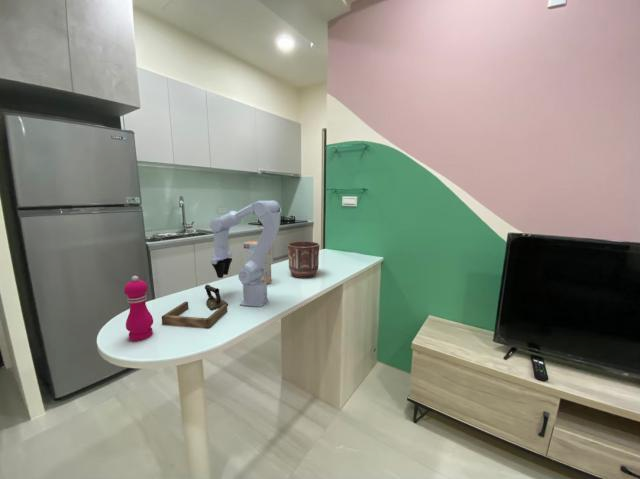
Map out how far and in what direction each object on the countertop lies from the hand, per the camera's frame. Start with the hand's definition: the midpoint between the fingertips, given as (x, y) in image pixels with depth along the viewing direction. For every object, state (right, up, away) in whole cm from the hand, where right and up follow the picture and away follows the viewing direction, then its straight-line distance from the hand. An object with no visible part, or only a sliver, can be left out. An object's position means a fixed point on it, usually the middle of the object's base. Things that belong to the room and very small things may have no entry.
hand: (222, 276), depth 117 cm
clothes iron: (-1, -11, -7) cm, 13 cm away
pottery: (+33, -4, +35) cm, 48 cm away
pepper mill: (-14, -15, -32) cm, 38 cm away
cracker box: (+10, -6, +22) cm, 25 cm away
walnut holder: (-3, -13, -18) cm, 23 cm away
